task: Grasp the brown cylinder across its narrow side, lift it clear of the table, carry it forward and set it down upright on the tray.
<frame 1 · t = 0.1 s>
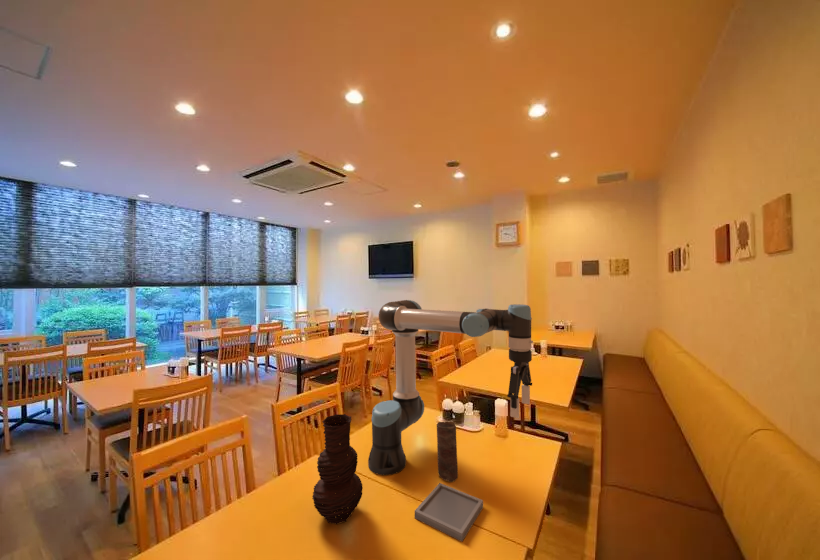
hand: (520, 410, 110), 28 cm above the table, fingers open, 13 cm apart
vase: (338, 515, 100), on the table
tray: (449, 512, 100), on the table
brown cylinder: (447, 477, 118), on the table
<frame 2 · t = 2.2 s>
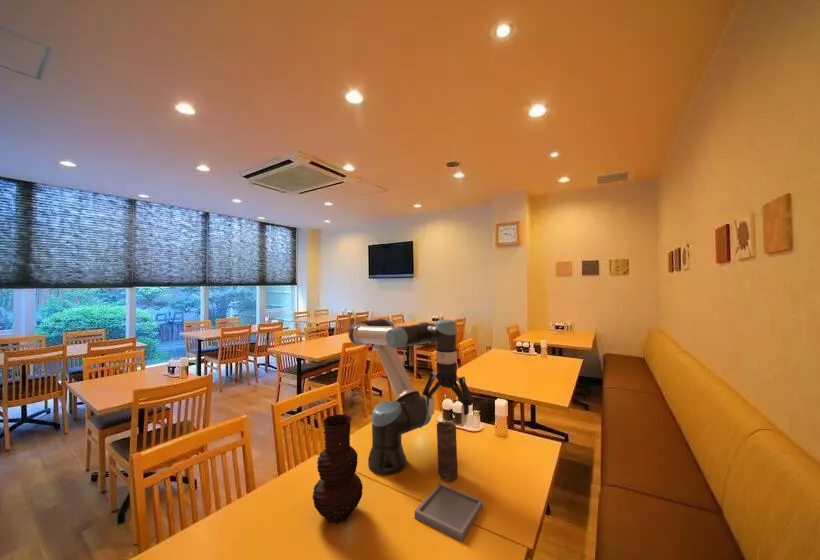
hand: (447, 418, 118), 22 cm above the table, fingers open, 13 cm apart
nothing on the table moved.
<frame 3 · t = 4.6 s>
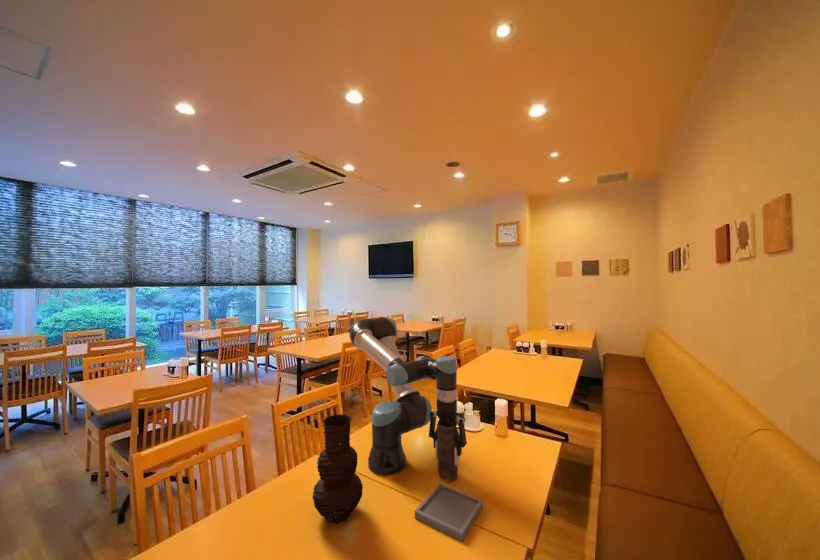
hand: (447, 460, 118), 6 cm above the table, fingers closed on brown cylinder, 7 cm apart
brown cylinder: (447, 477, 118), on the table, touching gripper
everything else where it was.
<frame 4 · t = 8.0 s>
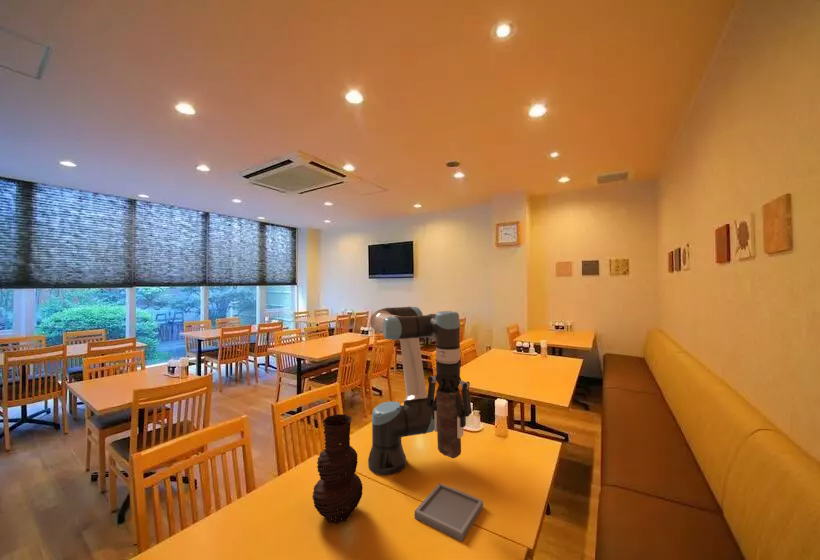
hand: (448, 433, 100), 25 cm above the table, fingers closed on brown cylinder, 7 cm apart
brown cylinder: (449, 452, 100), point 19 cm above the table, touching gripper
everything else where it was.
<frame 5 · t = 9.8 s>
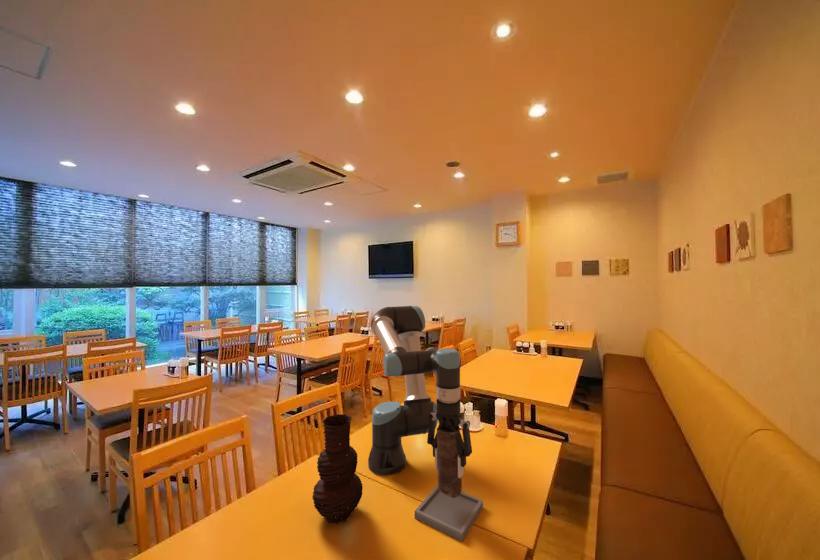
hand: (449, 471, 100), 13 cm above the table, fingers closed on brown cylinder, 7 cm apart
brown cylinder: (449, 491, 100), point 7 cm above the table, touching gripper
everything else where it was.
when the fingers open (10 cm above the table, at t = 11.5 s): brown cylinder drops 2 cm, resting on tray.
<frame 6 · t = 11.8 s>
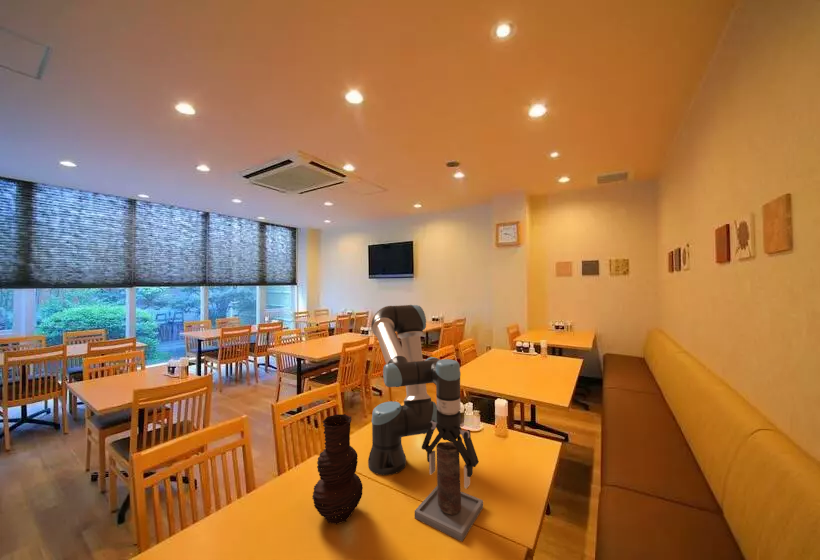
hand: (449, 478, 100), 11 cm above the table, fingers open, 11 cm apart
brown cylinder: (449, 508, 100), point 1 cm above the table, touching tray
everything else where it was.
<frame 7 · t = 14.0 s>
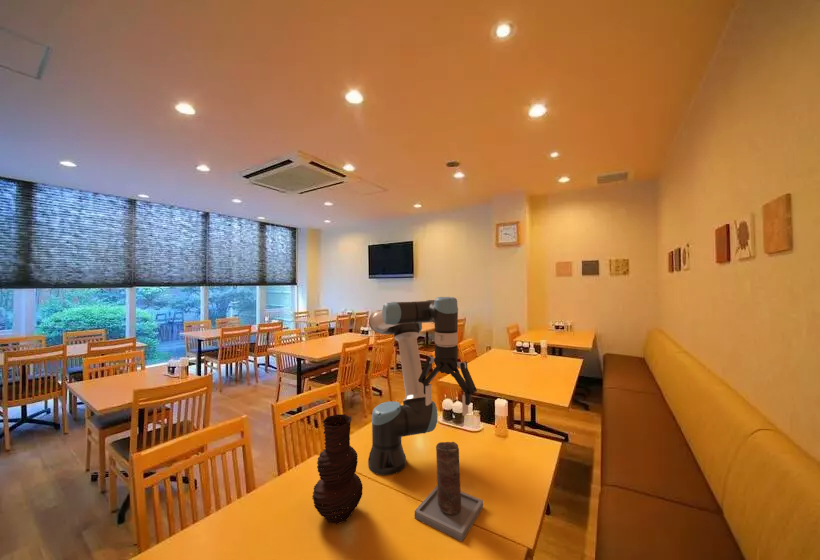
hand: (446, 409, 104), 31 cm above the table, fingers open, 13 cm apart
nothing on the table moved.
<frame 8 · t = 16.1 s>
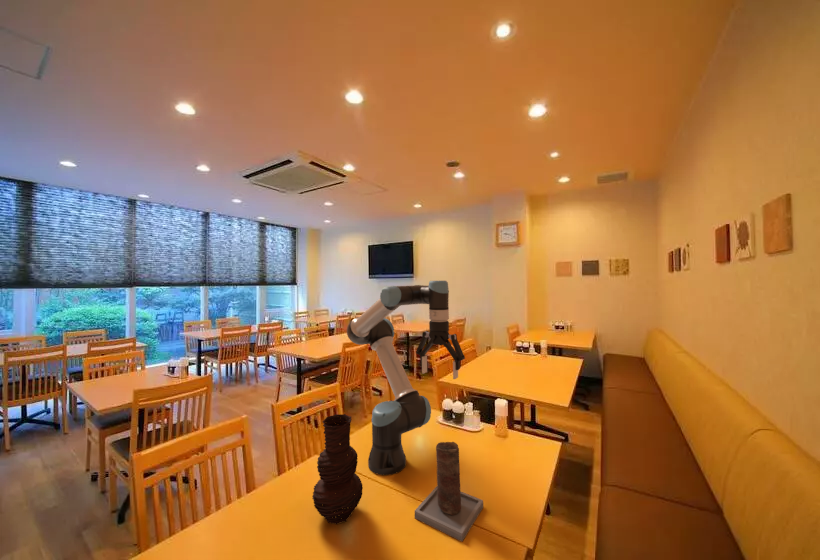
hand: (439, 375, 122), 37 cm above the table, fingers open, 13 cm apart
nothing on the table moved.
at the end: brown cylinder inside the target area on the tray (0.2 cm from its centre), point 1.3 cm above the tray's base; brown cylinder tilted 0°; the gripper is holding nothing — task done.
